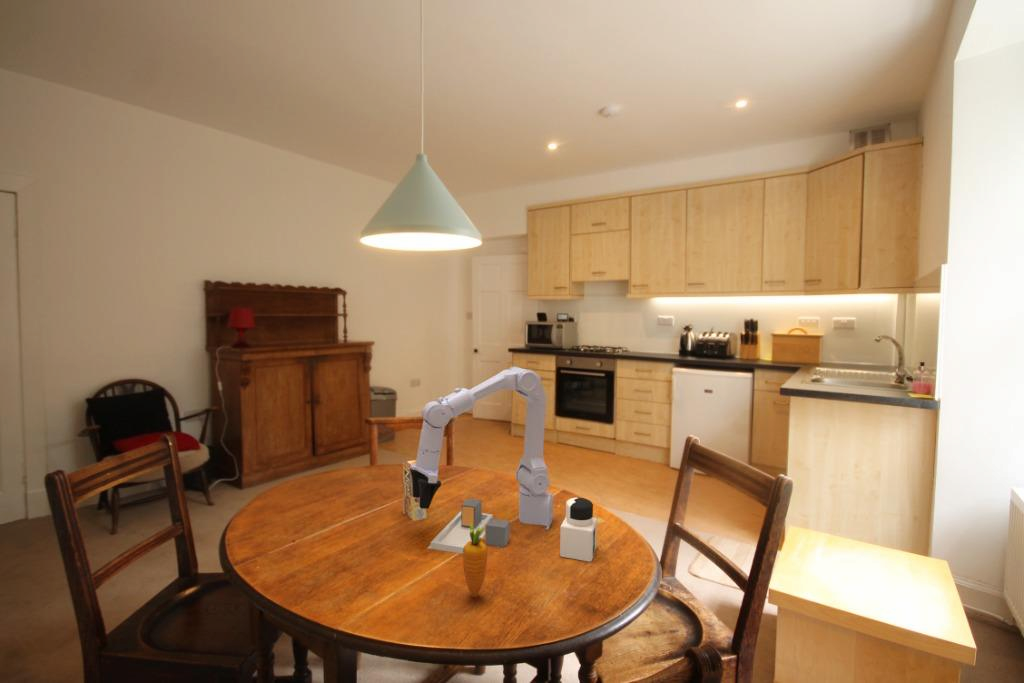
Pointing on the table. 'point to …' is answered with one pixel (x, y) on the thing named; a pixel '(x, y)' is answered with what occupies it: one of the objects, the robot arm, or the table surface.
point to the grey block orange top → (497, 532)
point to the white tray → (457, 535)
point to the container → (578, 530)
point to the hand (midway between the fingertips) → (420, 502)
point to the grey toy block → (471, 513)
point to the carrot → (475, 561)
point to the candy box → (411, 495)
